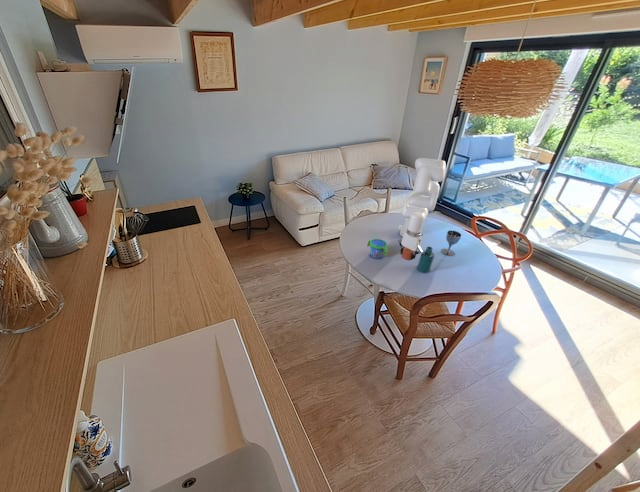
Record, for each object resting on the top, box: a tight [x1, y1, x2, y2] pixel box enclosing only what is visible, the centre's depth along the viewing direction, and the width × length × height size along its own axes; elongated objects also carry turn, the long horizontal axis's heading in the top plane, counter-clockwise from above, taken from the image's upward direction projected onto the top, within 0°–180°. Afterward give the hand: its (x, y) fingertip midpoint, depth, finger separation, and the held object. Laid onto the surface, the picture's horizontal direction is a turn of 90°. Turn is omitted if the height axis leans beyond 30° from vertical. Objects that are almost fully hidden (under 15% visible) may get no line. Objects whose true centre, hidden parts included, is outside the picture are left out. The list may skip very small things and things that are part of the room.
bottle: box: [416, 246, 435, 274], centre depth 174 cm, size 7×7×16 cm
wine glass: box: [441, 230, 462, 257], centre depth 189 cm, size 8×8×15 cm
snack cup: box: [366, 238, 389, 259], centre depth 188 cm, size 16×10×10 cm
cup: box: [401, 247, 413, 262], centre depth 176 cm, size 6×6×6 cm
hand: (407, 255), depth 177 cm, fingers closed on cup, 6 cm apart
